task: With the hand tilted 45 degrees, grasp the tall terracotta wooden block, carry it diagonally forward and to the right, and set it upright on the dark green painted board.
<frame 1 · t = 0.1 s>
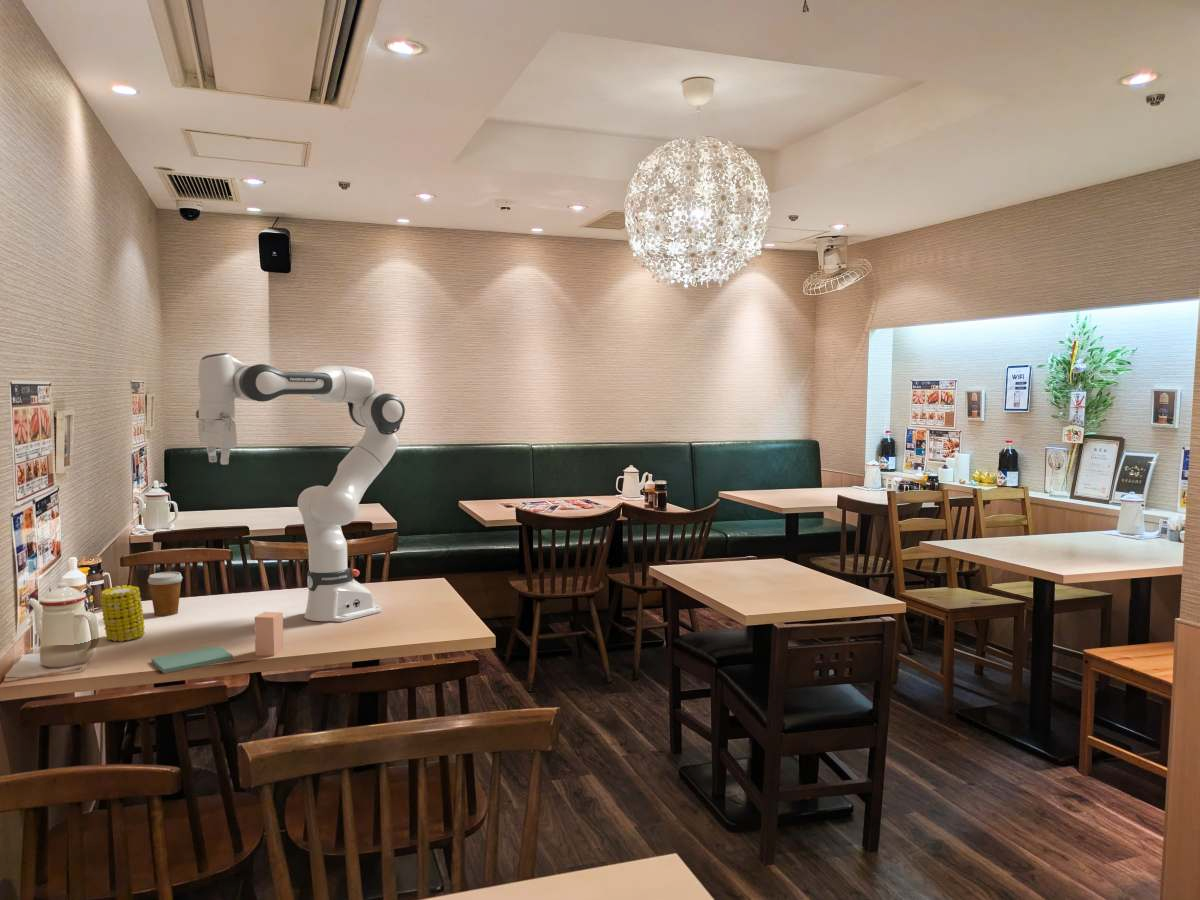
hand: (218, 463, 228), 48 cm above the table, tool pointing down, fingers open, 8 cm apart
green pad: (192, 660, 210), on the table
food: (123, 639, 229), on the table
disposable coffee cup: (166, 614, 254), on the table
terracotta block: (269, 652, 216), on the table
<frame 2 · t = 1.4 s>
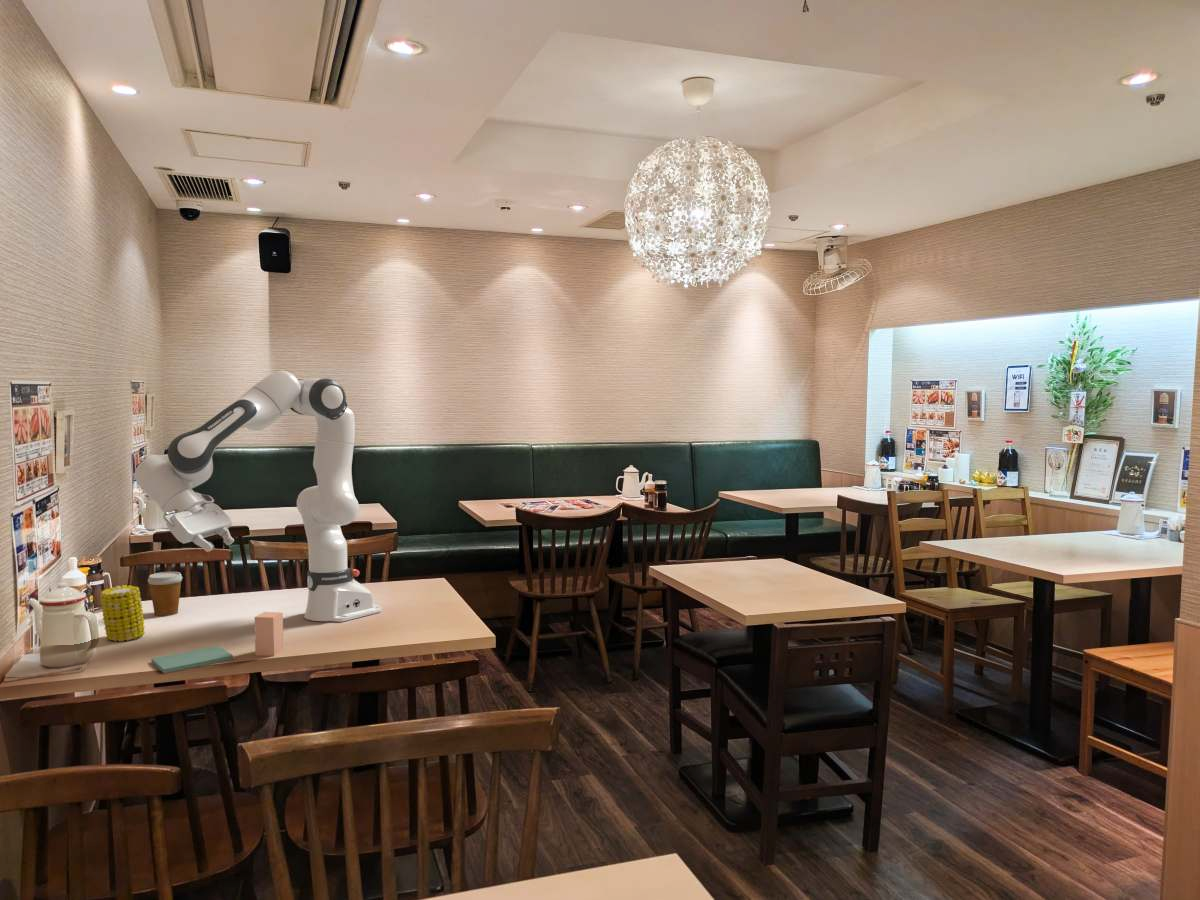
hand: (221, 546, 216), 28 cm above the table, tool tilted 45°, fingers open, 8 cm apart
nothing on the table moved.
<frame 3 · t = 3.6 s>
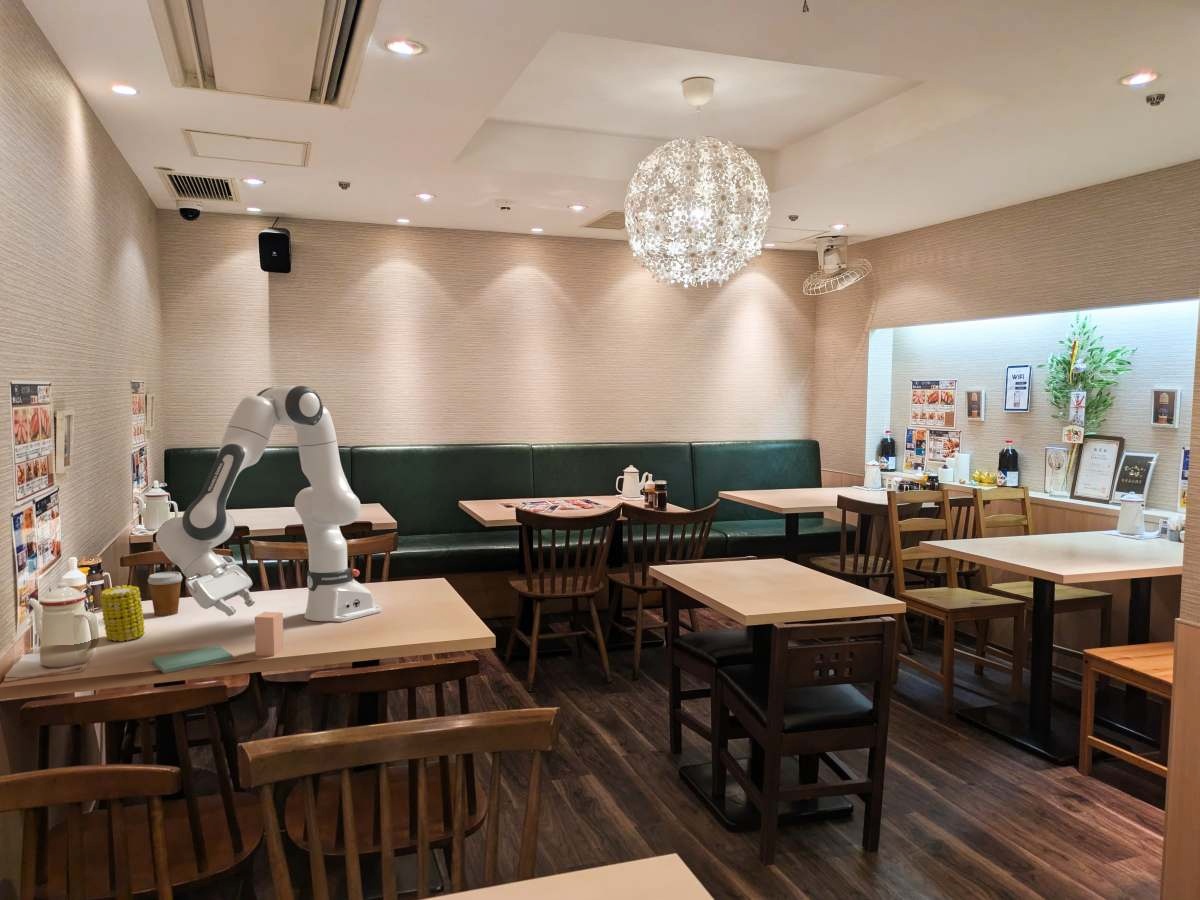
hand: (242, 609, 216), 11 cm above the table, tool tilted 45°, fingers open, 8 cm apart
nothing on the table moved.
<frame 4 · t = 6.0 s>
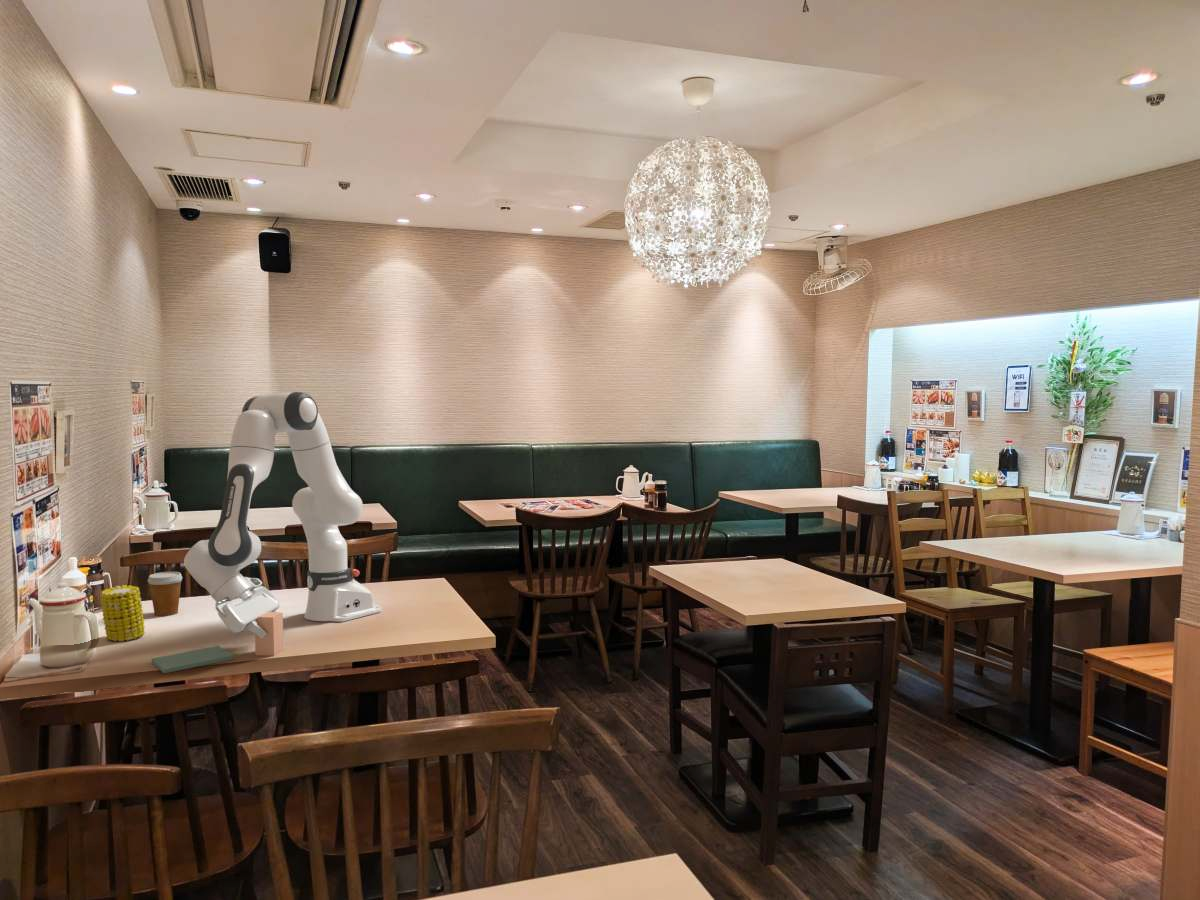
hand: (271, 632, 216), 5 cm above the table, tool tilted 45°, fingers closed on terracotta block, 5 cm apart
terracotta block: (269, 652, 216), on the table, touching gripper
everything else where it was.
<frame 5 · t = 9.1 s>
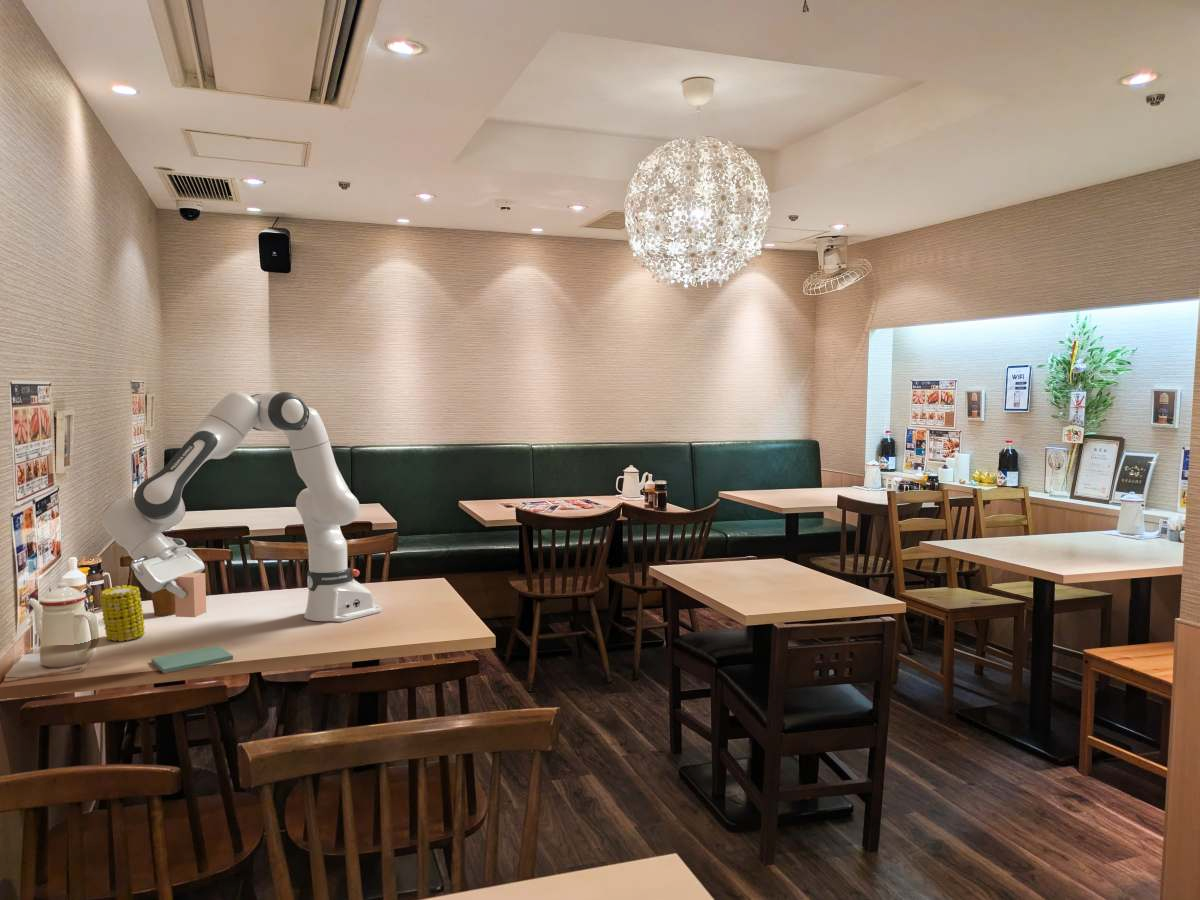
hand: (192, 593, 208), 17 cm above the table, tool tilted 45°, fingers closed on terracotta block, 5 cm apart
terracotta block: (191, 614, 209), point 12 cm above the table, touching gripper
everything else where it was.
when the fingers open (8 cm above the table, at t = 12.0 s): terracotta block drops 1 cm, resting on green pad.
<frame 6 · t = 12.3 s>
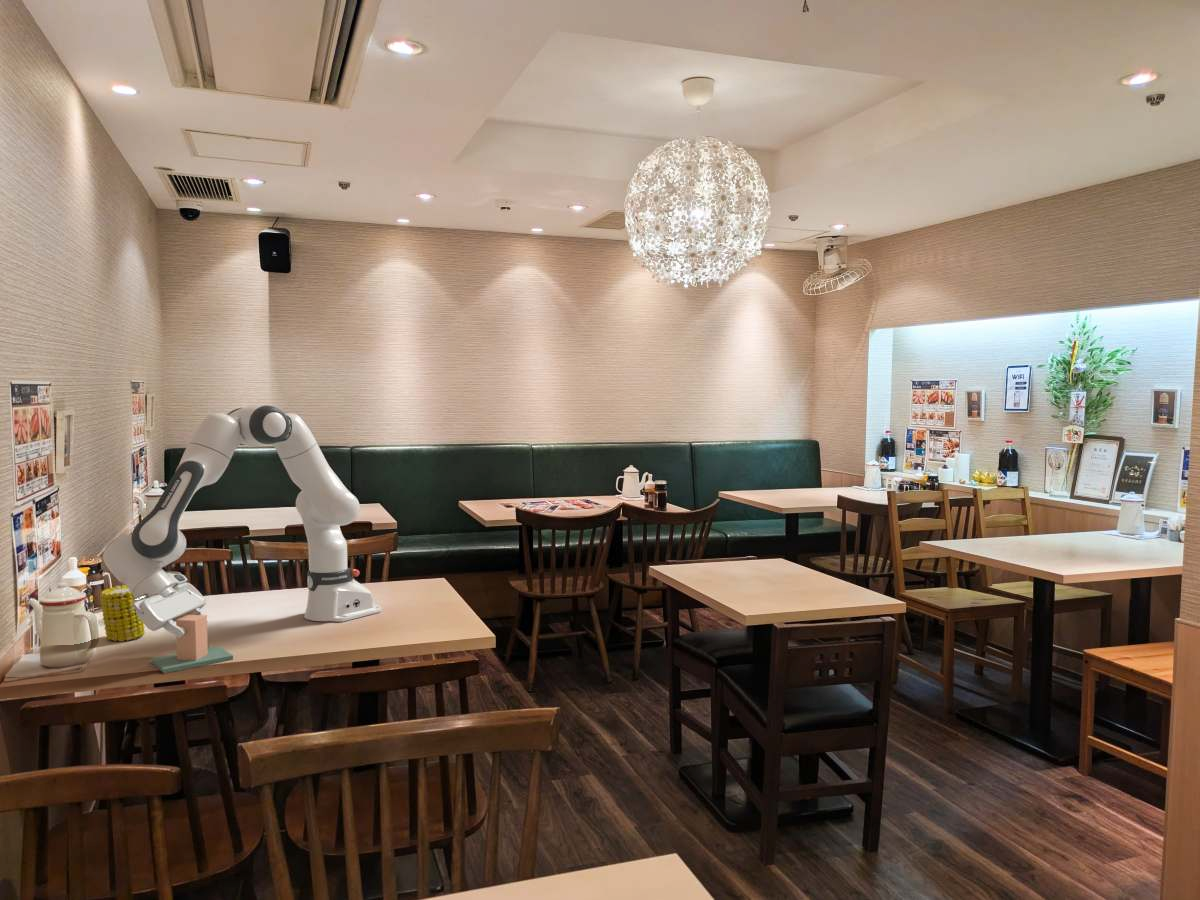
hand: (194, 630, 209), 8 cm above the table, tool tilted 45°, fingers open, 8 cm apart
terracotta block: (192, 656, 210), point 1 cm above the table, touching green pad
everything else where it was.
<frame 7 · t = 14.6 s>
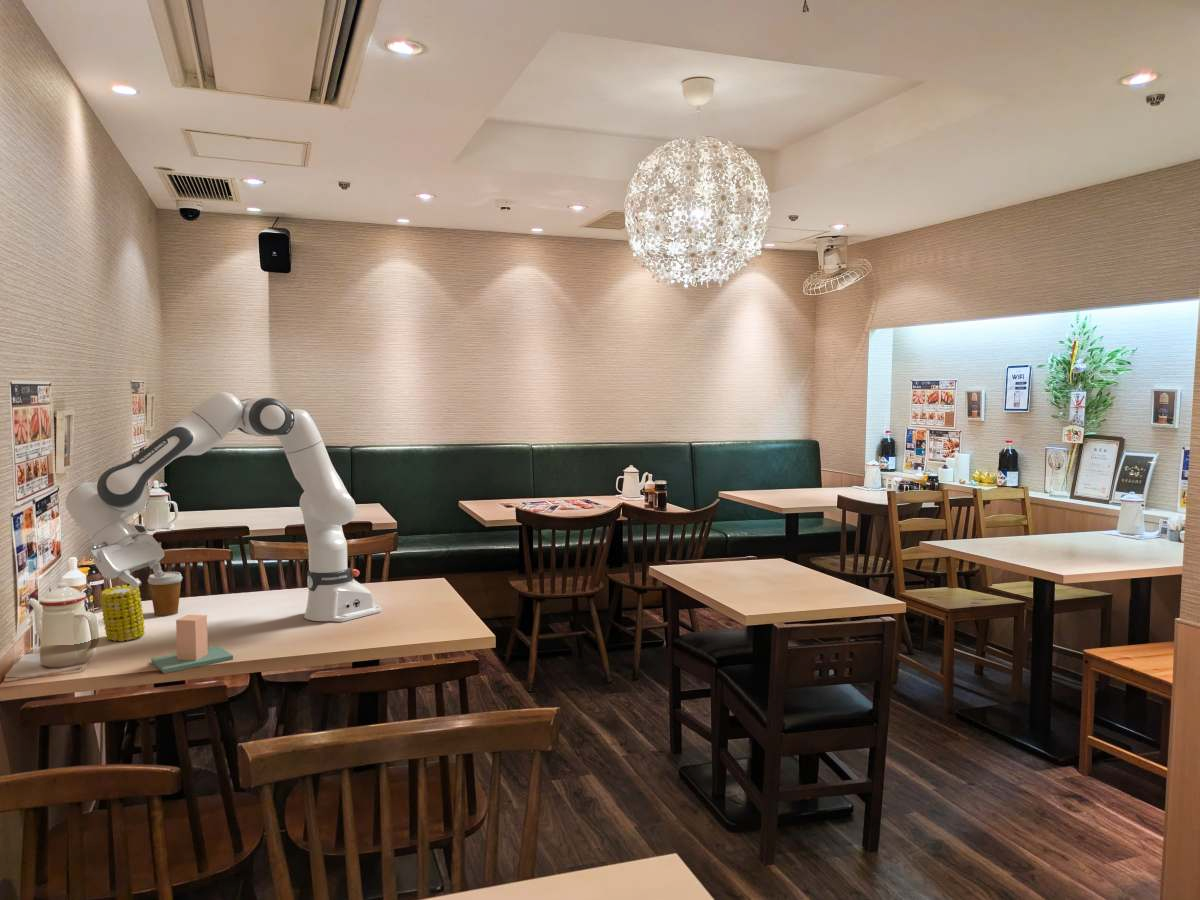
hand: (149, 581, 212), 19 cm above the table, tool tilted 40°, fingers open, 8 cm apart
nothing on the table moved.
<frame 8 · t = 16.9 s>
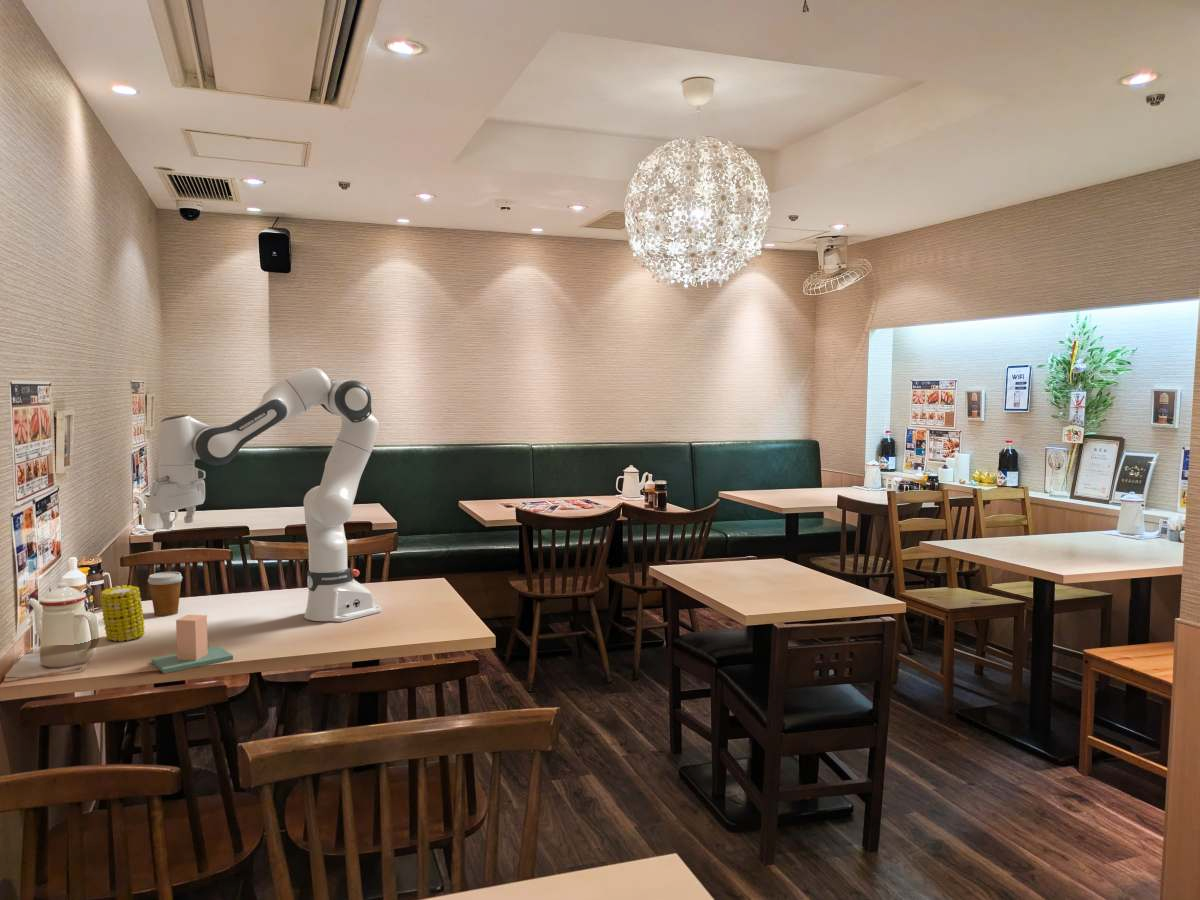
hand: (178, 525, 227), 31 cm above the table, tool pointing down, fingers open, 8 cm apart
nothing on the table moved.
at the end: terracotta block inside the target area on the green pad (0.1 cm from its centre), point 1.0 cm above the green pad's base; terracotta block tilted 0°; the gripper is holding nothing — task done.
